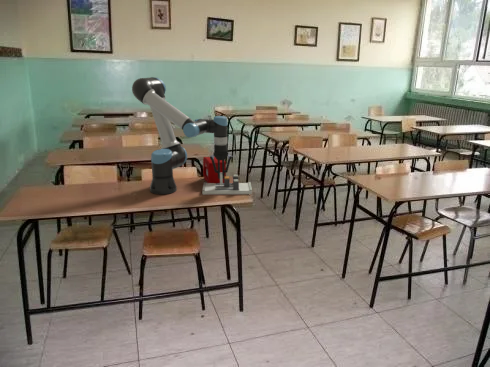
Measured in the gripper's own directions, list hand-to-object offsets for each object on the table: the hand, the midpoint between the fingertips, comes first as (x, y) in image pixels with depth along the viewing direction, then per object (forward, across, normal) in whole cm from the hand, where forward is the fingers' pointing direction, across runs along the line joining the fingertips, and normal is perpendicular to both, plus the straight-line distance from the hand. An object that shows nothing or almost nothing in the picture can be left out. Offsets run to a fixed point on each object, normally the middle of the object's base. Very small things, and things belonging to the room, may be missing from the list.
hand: (221, 183), depth 233 cm
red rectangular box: (+4, -5, +18) cm, 19 cm away
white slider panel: (+4, +3, 0) cm, 5 cm away
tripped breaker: (+1, +3, 0) cm, 3 cm away
